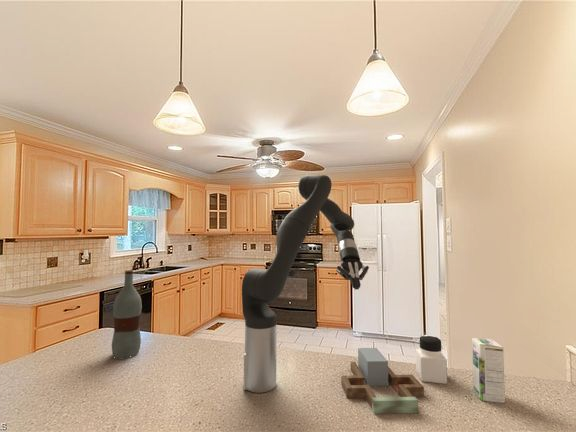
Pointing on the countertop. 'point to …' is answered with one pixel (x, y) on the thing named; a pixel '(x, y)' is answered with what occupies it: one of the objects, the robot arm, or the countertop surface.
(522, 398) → the countertop surface
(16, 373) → the countertop surface
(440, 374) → the medicine bottle
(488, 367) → the syrup box
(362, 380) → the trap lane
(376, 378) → the slate block
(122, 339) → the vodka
